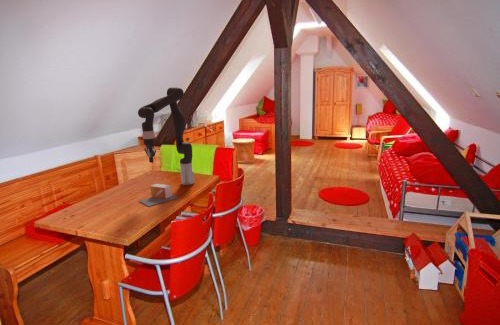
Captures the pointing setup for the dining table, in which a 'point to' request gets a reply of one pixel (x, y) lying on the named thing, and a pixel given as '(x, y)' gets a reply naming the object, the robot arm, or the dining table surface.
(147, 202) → the slate mat
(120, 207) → the dining table surface
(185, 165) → the robot arm
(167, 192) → the small box
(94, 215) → the dining table surface
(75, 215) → the dining table surface
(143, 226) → the dining table surface
